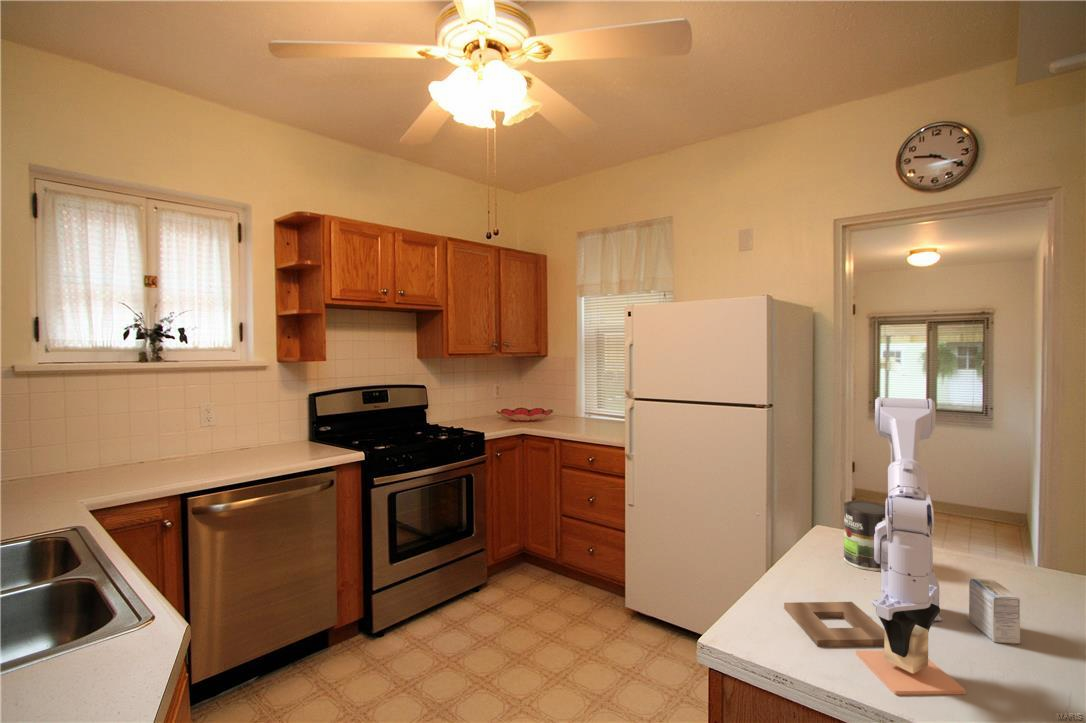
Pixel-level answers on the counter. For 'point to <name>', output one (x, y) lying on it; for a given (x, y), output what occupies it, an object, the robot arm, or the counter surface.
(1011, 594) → the medicine box
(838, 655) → the counter surface
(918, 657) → the birch block
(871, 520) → the coffee can
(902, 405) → the robot arm
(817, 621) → the pocket plate
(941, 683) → the tile
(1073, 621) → the counter surface
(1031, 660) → the counter surface
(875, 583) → the counter surface
